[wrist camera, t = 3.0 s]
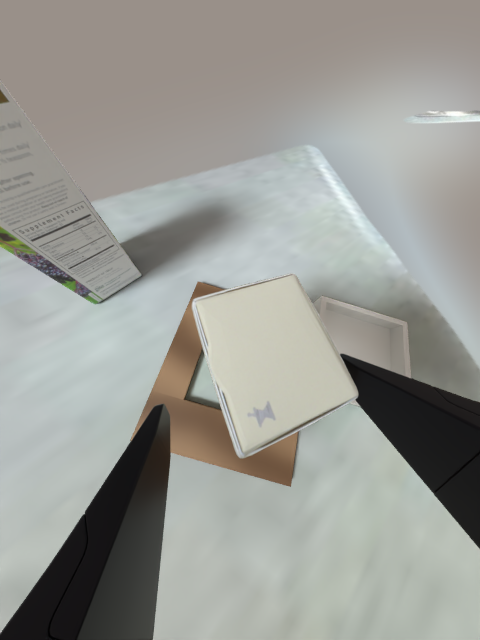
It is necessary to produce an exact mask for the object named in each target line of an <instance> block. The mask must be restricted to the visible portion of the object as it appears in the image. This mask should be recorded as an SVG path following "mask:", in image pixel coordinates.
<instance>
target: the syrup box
mask: <svg viewBox="0 0 480 640" xmlns="http://www.w3.org/2000/svg"><path fill="white" fill-rule="evenodd" d="M0 247H2V248H4V249H5V250H7V251H9V252H10V253H12V254H14V255H15V256H17V257H18V258H20V259H22V260H23V261H25V262H26V263H28V264H30V265H31V266H33V267H35V268H36V269H38V270H39V271H41V272H43V273H44V274H46V275H48V276H49V277H51V278H52V279H54V280H56V281H57V282H59V283H61V284H62V285H64V286H65V287H67V288H69V289H70V290H72V291H74V292H75V293H77V294H78V295H80V296H82V297H83V298H85V299H86V300H88V301H90V302H91V303H93V304H98V303H99V302H101V301H102V300H104V299H106V298H107V297H109V296H110V295H112V294H114V293H115V292H117V291H119V290H120V289H122V288H123V287H125V286H126V285H128V284H129V283H131V282H133V281H134V280H136V279H137V278H139V277H140V276H142V274H141V273H140V271H139V270H138V269H137V267H136V266H135V264H134V263H133V262H132V260H131V259H130V257H129V256H128V255H127V253H126V252H125V251H124V249H123V248H122V246H121V245H120V244H119V242H118V241H117V239H116V238H115V237H114V235H113V234H112V232H111V231H110V230H109V228H108V227H107V226H106V224H105V223H104V221H103V220H102V219H101V217H100V216H99V215H98V213H97V212H96V211H95V209H94V208H93V206H92V205H91V203H90V202H89V200H88V199H87V198H86V196H85V195H84V194H83V192H82V191H81V189H80V188H79V187H78V185H77V184H76V183H75V181H74V180H73V178H72V177H71V176H70V174H69V173H68V171H67V170H66V169H65V167H64V166H63V164H62V163H61V162H60V160H59V159H58V157H57V156H56V155H55V153H54V152H53V151H52V149H51V148H50V147H49V145H48V144H47V142H46V141H45V140H44V138H43V137H42V136H41V134H40V133H39V132H38V130H37V129H36V127H35V126H34V125H33V123H32V122H31V121H30V119H29V118H28V116H27V115H26V114H25V112H24V111H23V110H22V109H21V107H20V106H19V104H18V103H17V101H16V100H15V99H14V97H13V96H12V95H11V93H10V92H9V91H8V89H7V88H6V87H5V85H4V84H3V82H2V81H1V80H0Z"/></svg>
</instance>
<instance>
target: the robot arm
mask: <svg viewBox="0 0 480 640" xmlns="http://www.w3.org/2000/svg"><path fill="white" fill-rule="evenodd" d="M340 356H341V358H342V360H343V362H344V364H345V366H346V368H347V370H348V372H349V374H350V376H351V378H352V380H353V382H354V383H355V385H356V387H357V390H358V397H357V398H356V399H355V401H356V402H357V403H358V404H359V405H360V407H361V408H362V409H363V410H364V411H365V412H366V414H367V415H368V416H369V417H370V418H371V420H372V421H373V422H374V423H375V424H376V426H377V427H378V428H379V429H380V430H381V432H382V433H383V434H384V435H385V436H386V437H387V439H388V440H389V441H390V442H391V443H392V445H393V446H394V447H395V448H396V449H397V451H398V452H399V453H400V454H401V455H402V457H403V458H404V459H405V460H406V461H407V463H408V464H409V465H410V466H411V467H412V468H413V470H414V471H415V472H416V473H417V474H418V476H419V477H420V478H421V479H422V480H423V482H424V483H425V484H426V485H427V486H428V488H429V489H430V490H431V491H432V492H433V493H434V495H435V496H436V497H437V498H438V500H439V501H440V502H441V503H442V504H443V506H444V507H445V508H446V509H447V510H448V512H449V513H450V514H451V515H452V516H453V517H454V519H455V520H456V521H457V522H458V523H459V525H460V526H461V527H462V528H463V529H464V531H465V532H466V533H467V534H468V535H469V537H470V538H471V539H472V540H473V541H474V543H475V544H476V545H477V546H478V547H479V548H480V402H477V401H473V400H470V399H467V398H464V397H461V396H459V395H456V394H453V393H450V392H447V391H444V390H442V389H439V388H436V387H432V386H431V385H428V384H425V383H423V382H420V381H417V380H414V379H412V378H409V377H406V376H403V375H401V374H398V373H395V372H392V371H390V370H387V369H384V368H381V367H379V366H376V365H373V364H370V363H368V362H365V361H362V360H360V359H357V358H354V357H351V356H349V355H346V354H340ZM170 451H171V448H170V414H169V412H168V410H167V408H166V406H165V404H159V405H156V406H154V407H153V408H152V410H151V411H150V413H149V415H148V416H147V418H146V419H145V421H144V422H143V424H142V425H141V427H140V428H139V430H138V431H137V433H136V434H135V436H134V437H133V439H132V441H131V442H130V444H129V445H128V447H127V448H126V450H125V451H124V453H123V454H122V456H121V457H120V459H119V460H118V462H117V464H116V465H115V467H114V468H113V470H112V471H111V473H110V474H109V476H108V477H107V479H106V480H105V482H104V483H103V485H102V486H101V488H100V490H99V491H98V493H97V494H96V496H95V497H94V499H93V500H92V502H91V503H90V505H89V506H88V508H87V509H86V511H85V514H84V515H83V516H82V517H81V518H80V520H79V522H78V523H77V525H76V526H75V528H74V529H73V531H72V532H71V534H70V535H69V537H68V538H67V540H66V541H65V543H64V544H63V546H62V547H61V549H60V550H59V552H58V553H57V555H56V556H55V558H54V559H53V560H52V562H51V563H50V565H49V566H48V568H47V569H46V570H45V572H44V573H43V575H42V576H41V578H40V579H39V580H38V582H37V583H36V585H35V586H34V587H33V589H32V590H31V592H30V593H29V594H28V596H27V597H26V599H25V600H24V601H23V603H22V604H21V606H20V607H19V608H18V610H17V611H16V612H15V614H14V615H13V617H12V618H11V619H10V621H9V622H8V624H7V625H6V626H5V628H4V629H3V630H2V632H1V633H0V640H153V632H154V622H155V612H156V601H157V591H158V581H159V571H160V560H161V550H162V540H163V529H164V519H165V509H166V499H167V488H168V478H169V468H170Z"/></svg>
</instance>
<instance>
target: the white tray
mask: <svg viewBox="0 0 480 640" xmlns="http://www.w3.org/2000/svg"><path fill="white" fill-rule="evenodd" d="M312 304H313V306H314V308H315V309H316V311H317V313H318V314H319V316H320V318H321V320H322V322H323V324H324V326H325V328H326V330H327V331H328V333H329V335H330V337H331V339H332V341H333V343H334V345H335V346H336V348H337V350H338V352H339V354H346V355H349V356H351V357H354V358H357V359H360V360H362V361H365V362H368V363H370V364H373V365H376V366H379V367H381V368H384V369H387V370H390V371H392V372H395V373H398V374H401V375H403V376H406V377H409V378H411V368H410V354H409V340H408V326H407V322H405V321H402V320H399V319H396V318H393V317H389V316H386V315H383V314H380V313H376V312H373V311H370V310H367V309H364V308H360V307H357V306H354V305H351V304H348V303H344V302H341V301H338V300H335V299H331V298H328V297H325V296H321V297H320V298H318V299H317V300H316V301H315V302H313V303H312ZM349 404H353V405H356V406H359V407H360V405H359V404H358V403H357V402H356V401H355V400H353V401H352V402H350V403H349Z"/></svg>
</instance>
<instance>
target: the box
mask: <svg viewBox="0 0 480 640" xmlns="http://www.w3.org/2000/svg"><path fill="white" fill-rule="evenodd" d="M192 311H193V315H194V318H195V322H196V326H197V330H198V333H199V337H200V340H201V344H202V348H203V351H204V355H205V358H206V361H207V365H208V368H209V371H210V374H211V377H212V381H213V384H214V387H215V390H216V394H217V397H218V400H219V403H220V406H221V409H222V412H223V415H224V418H225V422H226V425H227V428H228V431H229V434H230V437H231V440H232V443H233V446H234V449H235V452H236V455H237V456H238V457H239V458H246V457H248V456H251V455H253V454H255V453H257V452H259V451H261V450H263V449H265V448H266V447H268V446H270V445H272V444H274V443H276V442H278V441H280V440H282V439H284V438H286V437H288V436H290V435H292V434H294V433H296V432H298V431H300V430H301V429H303V428H305V427H307V426H309V425H311V424H313V423H315V422H317V421H319V420H320V419H322V418H324V417H325V416H327V415H329V414H331V413H333V412H335V411H336V410H338V409H340V408H342V407H343V406H345V405H347V404H349V403H350V402H352V401H353V400H355V399H356V398H357V397H358V390H357V387H356V385H355V383H354V382H353V380H352V378H351V376H350V374H349V372H348V370H347V368H346V366H345V364H344V362H343V360H342V358H341V356H340V354H339V352H338V350H337V348H336V346H335V345H334V343H333V341H332V339H331V337H330V335H329V333H328V331H327V330H326V328H325V326H324V324H323V322H322V320H321V318H320V316H319V314H318V313H317V311H316V309H315V308H314V306H313V304H312V302H311V300H310V298H309V297H308V295H307V293H306V292H305V290H304V288H303V286H302V285H301V283H300V281H299V279H298V278H297V276H296V275H295V274H294V273H290V274H286V275H282V276H279V277H275V278H270V279H266V280H261V281H257V282H254V283H250V284H245V285H241V286H237V287H234V288H230V289H226V290H222V291H219V292H215V293H212V294H208V295H205V296H201V297H197V298H195V299H193V301H192Z"/></svg>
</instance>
